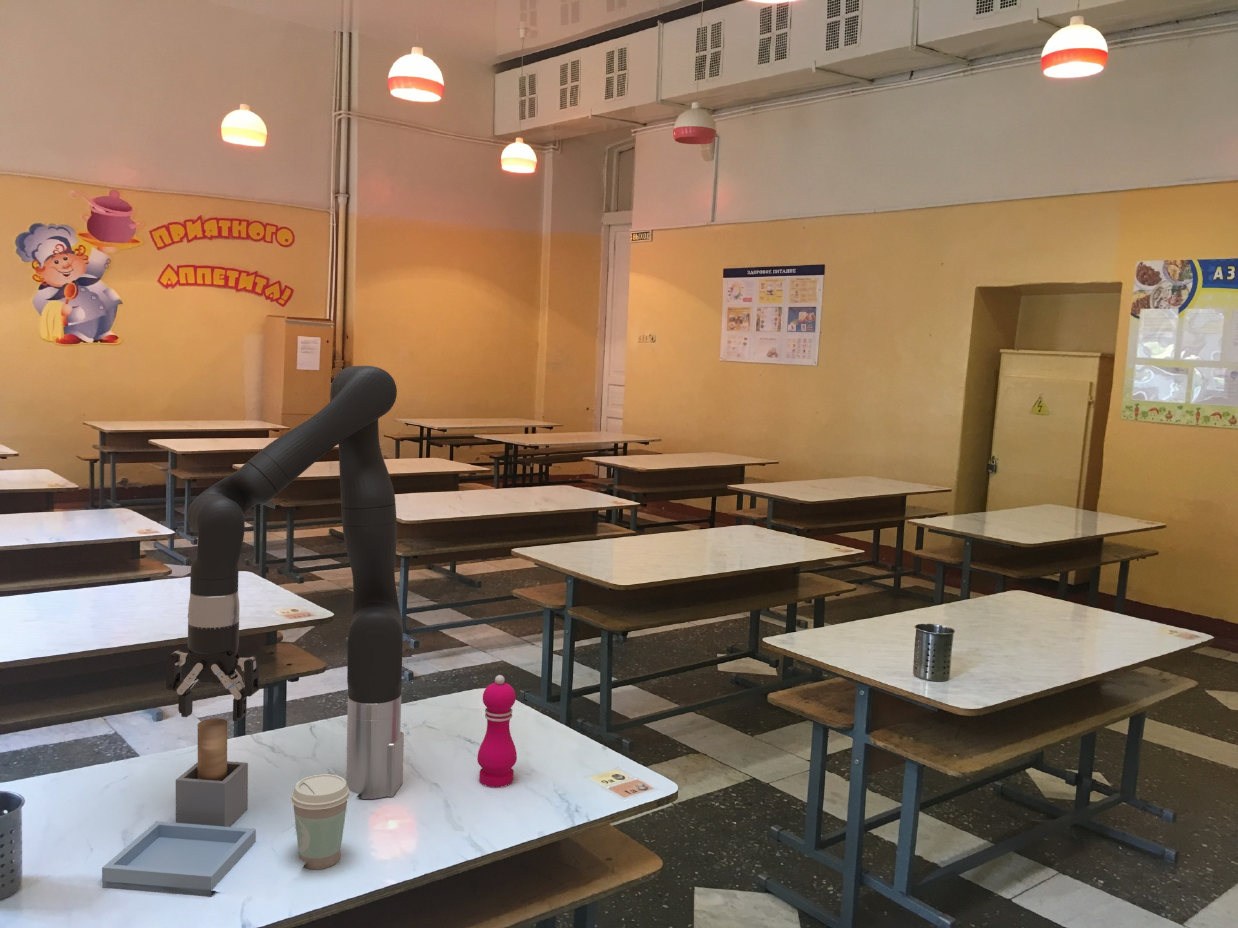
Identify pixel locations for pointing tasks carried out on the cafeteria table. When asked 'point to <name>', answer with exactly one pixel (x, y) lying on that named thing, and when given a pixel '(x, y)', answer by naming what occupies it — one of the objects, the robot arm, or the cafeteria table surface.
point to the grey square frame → (212, 797)
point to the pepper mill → (497, 736)
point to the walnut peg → (212, 749)
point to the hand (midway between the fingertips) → (212, 717)
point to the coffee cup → (320, 818)
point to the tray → (178, 858)
